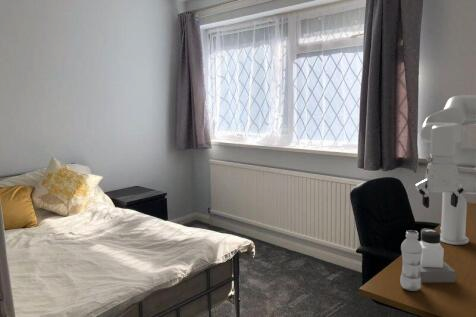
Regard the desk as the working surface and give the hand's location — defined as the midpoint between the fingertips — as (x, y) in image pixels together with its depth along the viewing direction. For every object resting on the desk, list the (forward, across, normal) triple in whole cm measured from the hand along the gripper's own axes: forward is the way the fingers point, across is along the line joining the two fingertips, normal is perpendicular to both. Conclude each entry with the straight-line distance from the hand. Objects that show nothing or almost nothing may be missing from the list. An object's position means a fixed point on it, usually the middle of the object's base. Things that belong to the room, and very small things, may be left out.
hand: (439, 206), depth 140 cm
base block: (+25, -4, -3) cm, 25 cm away
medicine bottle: (+21, -4, -3) cm, 21 cm away
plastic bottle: (+24, -15, -14) cm, 32 cm away
